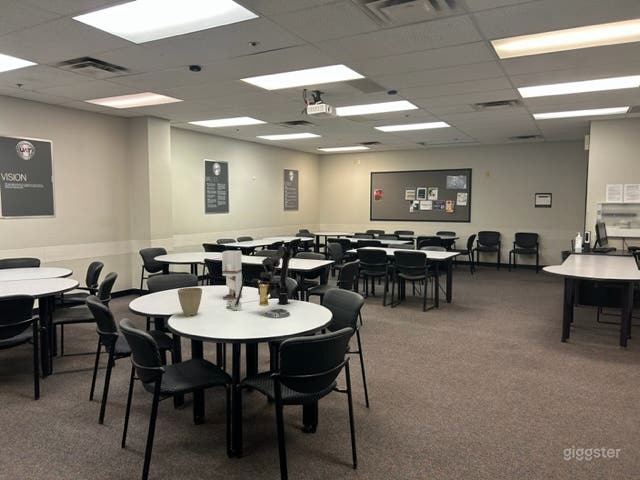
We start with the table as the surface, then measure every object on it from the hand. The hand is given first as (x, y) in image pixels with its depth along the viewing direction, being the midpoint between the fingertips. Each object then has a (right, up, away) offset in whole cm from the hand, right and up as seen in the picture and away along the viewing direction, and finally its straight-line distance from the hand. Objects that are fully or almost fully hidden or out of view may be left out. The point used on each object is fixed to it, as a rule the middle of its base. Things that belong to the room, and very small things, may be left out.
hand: (263, 294), depth 281 cm
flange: (+9, -13, +1) cm, 16 cm away
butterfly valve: (-22, -12, +20) cm, 32 cm away
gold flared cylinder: (0, -6, +2) cm, 7 cm away
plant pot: (-46, -13, +2) cm, 48 cm away
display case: (-29, -9, +53) cm, 61 cm away
